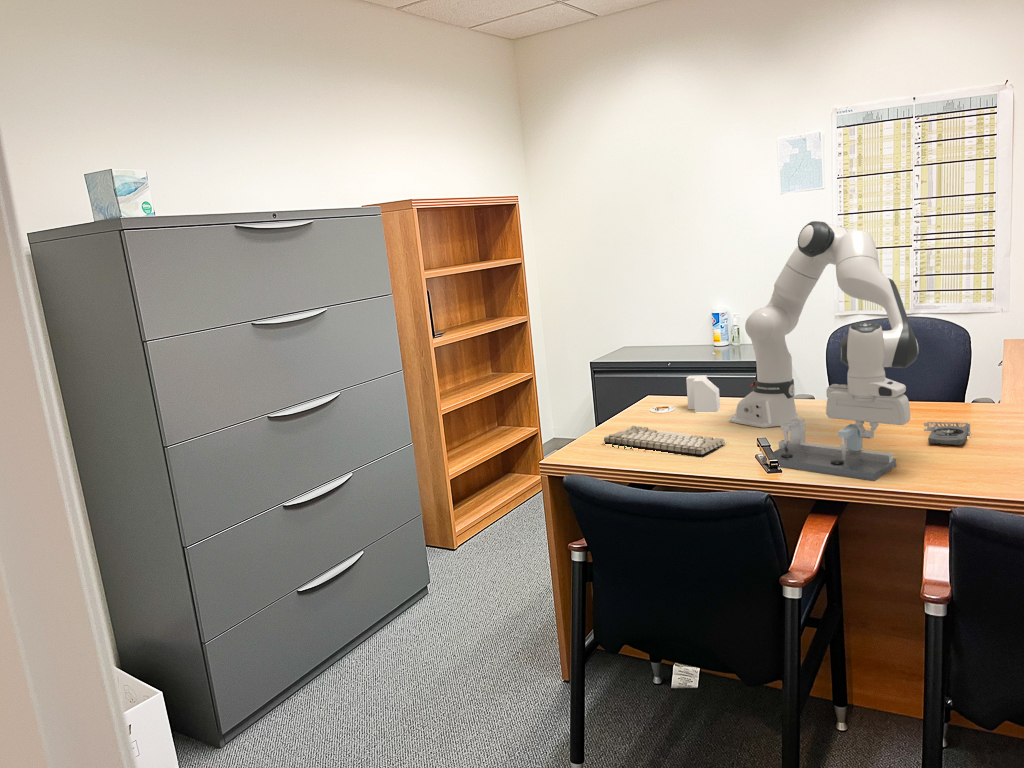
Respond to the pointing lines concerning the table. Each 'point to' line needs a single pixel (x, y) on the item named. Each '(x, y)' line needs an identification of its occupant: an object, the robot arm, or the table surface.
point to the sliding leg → (850, 439)
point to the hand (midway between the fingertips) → (867, 437)
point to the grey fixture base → (828, 456)
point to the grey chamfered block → (702, 394)
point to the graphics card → (948, 433)
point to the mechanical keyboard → (665, 441)
